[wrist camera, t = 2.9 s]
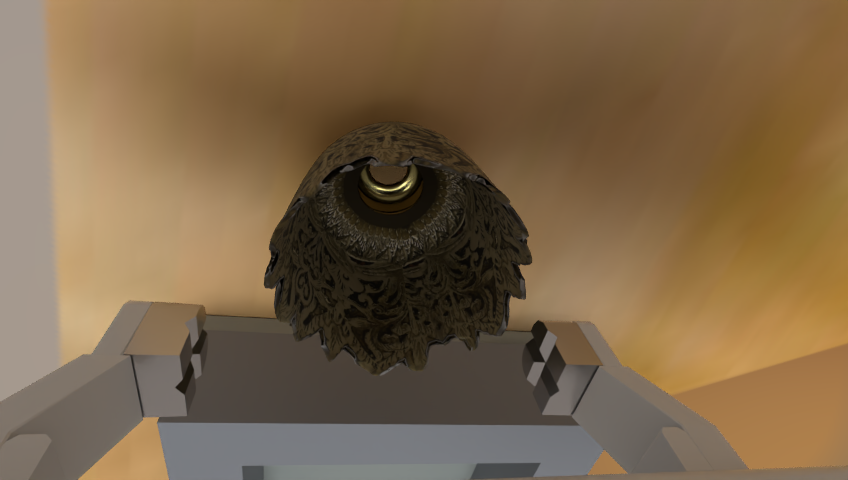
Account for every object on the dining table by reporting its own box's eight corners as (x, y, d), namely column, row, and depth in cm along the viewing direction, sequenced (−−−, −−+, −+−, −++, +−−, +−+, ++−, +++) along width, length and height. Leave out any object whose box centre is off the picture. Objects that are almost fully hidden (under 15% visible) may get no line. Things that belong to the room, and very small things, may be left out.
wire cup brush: (342, 260, 21) (334, 403, 15) (264, 118, 17) (204, 227, 11) (491, 209, 21) (552, 334, 14) (447, 49, 17) (503, 121, 10)
